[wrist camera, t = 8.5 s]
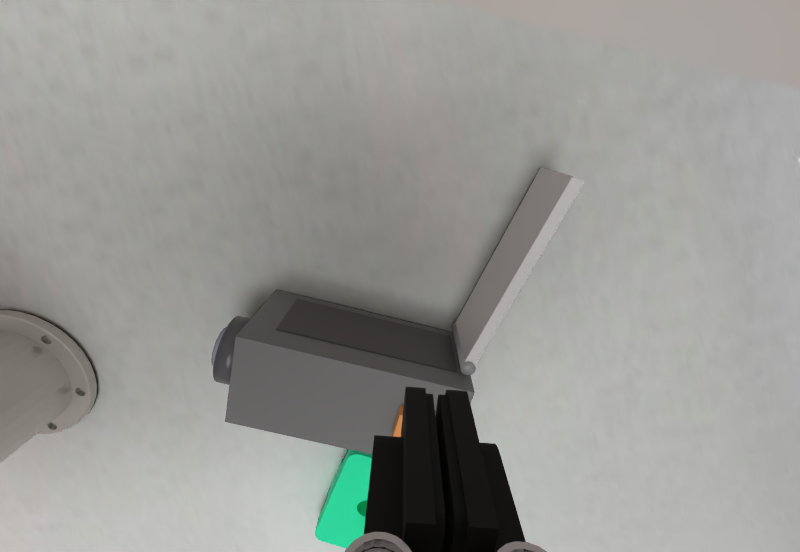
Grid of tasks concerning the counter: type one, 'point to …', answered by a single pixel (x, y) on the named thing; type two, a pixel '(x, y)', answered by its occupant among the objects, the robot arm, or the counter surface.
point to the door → (512, 263)
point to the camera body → (330, 370)
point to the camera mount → (346, 501)
